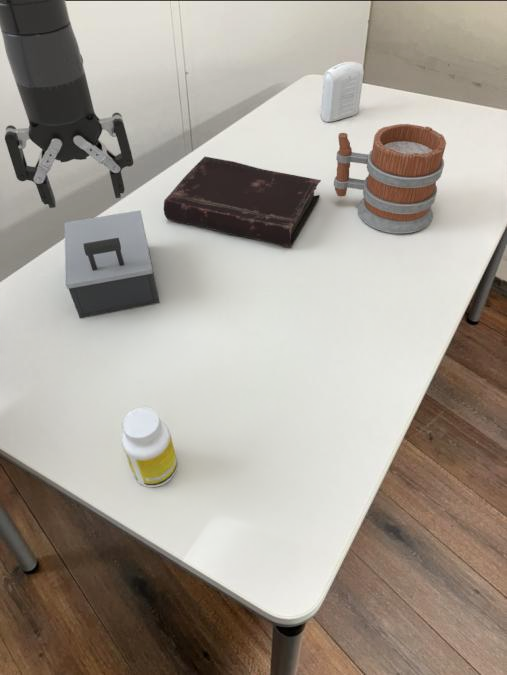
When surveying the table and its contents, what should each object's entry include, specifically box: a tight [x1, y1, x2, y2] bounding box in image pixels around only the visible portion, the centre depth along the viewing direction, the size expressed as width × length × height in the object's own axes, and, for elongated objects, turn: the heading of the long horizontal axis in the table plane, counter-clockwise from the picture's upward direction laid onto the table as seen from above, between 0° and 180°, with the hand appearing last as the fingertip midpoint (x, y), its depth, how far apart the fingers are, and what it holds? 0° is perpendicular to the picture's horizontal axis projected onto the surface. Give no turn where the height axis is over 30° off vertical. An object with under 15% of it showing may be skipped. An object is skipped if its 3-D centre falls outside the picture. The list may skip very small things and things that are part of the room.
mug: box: [333, 123, 447, 235], centre depth 93 cm, size 14×19×15 cm
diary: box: [163, 156, 322, 249], centre depth 98 cm, size 19×25×5 cm
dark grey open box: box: [68, 219, 160, 319], centre depth 84 cm, size 16×13×7 cm
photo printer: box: [320, 61, 365, 123], centre depth 123 cm, size 10×4×12 cm, turn 122°
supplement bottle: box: [121, 406, 178, 488], centre depth 58 cm, size 5×5×10 cm
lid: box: [64, 209, 154, 290], centre depth 79 cm, size 16×13×5 cm
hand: (85, 199), depth 68 cm, fingers open, 8 cm apart
